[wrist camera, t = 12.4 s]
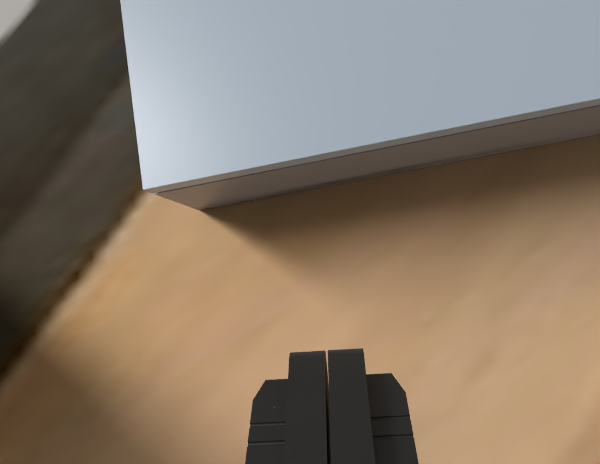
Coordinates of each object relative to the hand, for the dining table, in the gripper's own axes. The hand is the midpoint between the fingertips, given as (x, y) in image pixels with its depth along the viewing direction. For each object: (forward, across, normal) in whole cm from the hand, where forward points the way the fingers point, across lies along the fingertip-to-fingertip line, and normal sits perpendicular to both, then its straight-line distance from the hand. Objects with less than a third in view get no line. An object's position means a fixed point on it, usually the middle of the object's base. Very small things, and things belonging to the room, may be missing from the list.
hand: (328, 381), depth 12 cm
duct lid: (+18, -3, -3) cm, 18 cm away
